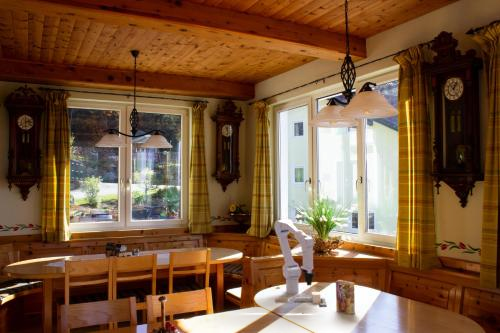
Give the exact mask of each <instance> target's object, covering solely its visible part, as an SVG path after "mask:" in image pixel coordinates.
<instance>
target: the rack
mask: <svg viewBox="0 0 500 333" xmlns="http://www.w3.org/2000/svg"><path fill="white" fill-rule="evenodd" d="M294 300H295V303H297V302H298V303H299V302H300V303H302V302H303V303H304V302H307V303H313V297H312V296H311V297H309V296H308V297H307V296H303V297H302V296H295V297H294ZM318 307H324V308H325V307H327V302H326V298H323V297H321V296H320V303H318Z"/></svg>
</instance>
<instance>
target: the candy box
mask: <svg viewBox="0 0 500 333" xmlns="http://www.w3.org/2000/svg"><path fill="white" fill-rule="evenodd" d="M335 296H336V298H335V299H336V303H335V304H336V308H335V310H336V311H337V312H341V313H345V314H348V315H351V314H355V313H356V311H355V310H356V309H355V282H353V281H348V280H343V279H339V280H335Z"/></svg>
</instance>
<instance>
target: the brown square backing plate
mask: <svg viewBox="0 0 500 333" xmlns="http://www.w3.org/2000/svg"><path fill="white" fill-rule="evenodd" d="M274 303H275V304H289V298H275V299H274Z"/></svg>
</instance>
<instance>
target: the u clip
mask: <svg viewBox="0 0 500 333" xmlns="http://www.w3.org/2000/svg"><path fill="white" fill-rule="evenodd" d="M310 294H311V297H313V302H312V303H313V304H316V303H317V304H319V303H320V297H321V293H320V291H311V293H310Z"/></svg>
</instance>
